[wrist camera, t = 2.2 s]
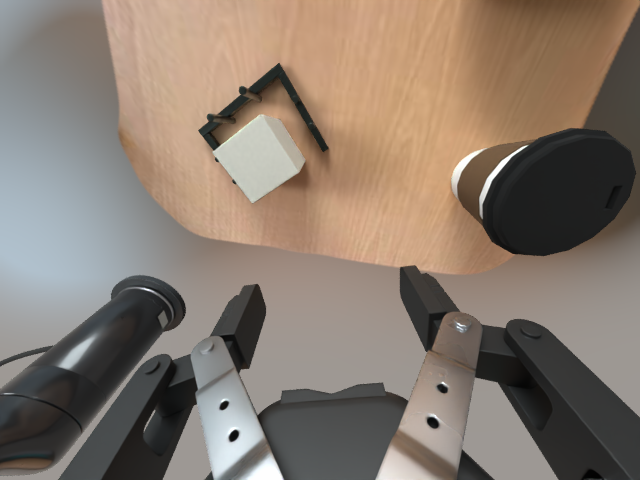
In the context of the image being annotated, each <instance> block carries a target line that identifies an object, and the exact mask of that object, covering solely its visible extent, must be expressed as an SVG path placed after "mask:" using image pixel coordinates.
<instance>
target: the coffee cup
mask: <svg viewBox="0 0 640 480" xmlns="http://www.w3.org/2000/svg"><path fill="white" fill-rule="evenodd" d="M635 175H636V171H635V167H634V163H633V159H632V155H631V151H630V150H629V149H628V148H626V147H625V146H624V145H622V144H621V143H620V142H618V141H617V140H616V139H615V138H613V137H612V136H611V135H609V134H608V133H607V132H605V131H598V130H588V129H578V128H570V129H566V130H563V131H560V132H556V133H553V134H550V135H547V136H543V137H540V138H538V139H535V140H529V141H522V142H515V143H508V144H501V145H497V146H494V147H491V148H485V149H482V150H478V151H475V152H472V153H471V154H470V155H468V156H467V157H465V158H464V159H463V160H461V161H460V163H459V164H458V165H457V167H456V168H455V169H454V172H453V175H452V178H451V185H452V191H453V193H454V195H455V196H456V198H457V199H458V200H459V201H460V202H461V204H462V206H463V207H464V208H465V209H466V210H467V211H468V212H469V213H470V214H471V215H472V216H473V217H474V218H475V219H476V220H477V221H478V222H479V223H480V224H481V225H483V227H484V229H485V231H486V233H487V234H488V236H489V238H490V239H491V241H492V242H493V243H495V244H496V245H498V246H500V247H502V248H503V249H505V250H507V251H509V252H511V253H512V254H523V255H534V256H535V255H537V256H546V255H550V254H554V253H558V252H562V251H567V250H570V249H572V248H573V247H576V246H577V245H579V244H581V243H583V242H585V241H587V240H589V239H591V238H592V237H594V236H595V235H596V234H597V233H599V232H600V231H601V230H602V229H603V228H604V227H606V226H607V225H608V224H609V223H610V222H611V221H612V220H614V219H615V217H616V216H617V214H618V213H619V211H620V210H621V208H622V207H623V205H624V204H625V203H626V201H627V200H628V198H629V196H630V193H631V189H632V186H633V182H634V178H635Z"/></svg>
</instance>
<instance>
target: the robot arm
mask: <svg viewBox="0 0 640 480" xmlns="http://www.w3.org/2000/svg"><path fill="white" fill-rule="evenodd" d="M400 294H401V299H402V301H403V304H404V306H405V308H406V310H407V312H408V314H409V316H410V318H411V321H412V323H413V325H414V327H415V329H416V331H417V333H418V336H419V338H420V340H421V342H422V344H423V346H424V348H425V351H426V352H427V355H426V357H425V359H424V362H423V365H422V367H421V370H420V372H419V375H418V378H417V380H416V383H415V386H414V388H413V391H412V393H411V396H410V399H409V401H408V400H406V399H404V398H403V397H400V396H398V395H396V394H393V393H390V392H386V391H385V389H384V385H383V383H372V384H360V385H356V386H353V387H350V388H347V389H344V390H342V391H339V392H336V393H332V394H329V393H325V392H320V391H315V390H310V389H297V390H285V391H282V396H281V400H279V401H277V402H275V403H273V404H271V405H270V406H268V407H267V408H265V409H264V410H263V411H262V412H261V413H260V414H259V415H257V413H256V411H255V408H254V406H253V404H252V402H251V399H250V397H249V395H248V393H247V390H246V388H245V386H244V384H243V381H242V379H241V377H240V375H239V372H240V370H241V369H249V367H250V364H251V361H252V358H253V354H254V351H255V348H256V345H257V342H258V339H259V335H260V332H261V329H262V326H263V322H264V319H265V316H266V306H265V302H264V299H263V296H262V293H261V290H260V287H259V285H258V284H254V285H246V286H244V287H243V288H242V291H241V292H240V294H239V295H236V296H235V297H234V298H233V299H232V300H230V301H229V303H228V305H227V306H226V308H225V311H224V312H223V313H222V317H220V319H219V321H218V323H217V324H216V326H215V328H214V330H213V332H212V334H211V335H210V337H208V338H206V339H204V340H202V341H201V342H200V343H198V344H197V345H196V346H195V348H194V349H193V351H192V353H191V354H189V355H187V356H183V357H181V358H178V359H175V360H172V359H171V357H170V356H169V355H167V354H161V355H157V356H155V357H153V358H151V359H149V360H148V361H146V362H145V363H144V364H143V365H141V366H140V368H139V369H138V370H137V371H136V372H135V374H134V375H133V377H132V378H131V379H130V381H129V382H128V383H127V385H126V387H125V388H124V389H123V390H122V392H121V393H120V395H119V396H118V397H117V399H116V400H115V402H114V403H113V404H112V406H111V407H110V409H109V410H108V411H107V413H106V414H105V415H104V417H103V418H102V420H101V421H100V422H99V424H98V425H97V427H96V428H95V429H94V431H93V432H92V434H91V435H90V437H89V438H88V439H87V440H86V442H85V443H84V445H83V446H82V447H81V449H80V450H79V452H78V453H77V454H76V456H75V457H74V458H73V460H72V461H71V463H70V464H69V466H68V467H67V468H66V470H65V471H64V472H63V474H62V475H61V476H60V478H59V479H58V480H163V477H164V475H165V472H166V470H167V468H168V465H169V463H170V460H171V458H172V456H173V453H174V451H175V449H176V446H177V444H178V441H179V439H180V436H181V434H182V432H183V429H184V427H185V425H186V422H187V420H188V418H189V415H190V413H191V410H192V408H193V406H194V405H196V404H197V405H198V410H199V414H200V419H201V423H202V428H203V433H204V437H205V442H206V446H207V451H208V455H209V459H210V465H211V469H212V471H211V473H210V474H209V475H208V476H207V477H206V479H205V480H494V479H493V478H492V477H491V476H490V475H489V474H488V473H487V472H486V471H485V470H484V469H482V468H481V467H480V466H479V465H478V464H477V463H476V462H475V461H474V460H473V459H472V458H471V457H470V456H469V455H468V454H466V453H465V452H464V451H463V450H462V446H463V440H464V434H465V429H466V423H467V417H468V412H469V406H470V401H471V395H472V390H473V384H474V378H475V377H476V378H481V379H485V380H489V381H494V382H498V384H499V385H500V387H501V388H502V390H503V392H504V393H505V395H506V396H507V398H508V400H509V401H510V403H511V404H512V406H513V407H514V409H515V411H516V412H517V414H518V415H519V417H520V419H521V420H522V422H523V423H524V425H525V427H526V428H527V430H528V432H529V433H530V435H531V436H532V438H533V440H534V441H535V442H536V444H537V446H538V448H539V449H540V450H541V452H542V454H543V455H544V457H545V459H546V460H547V462H548V463H549V465H550V467H551V468H552V470H553V471H554V473H555V474H556V476H557V478H558V479H559V480H640V417H639V416H638V415H637V414H635V413H634V412H633V411H632V410H631V409H630V408H629V407H628V406H627V405H626V404H625V403H624V402H623V401H622V400H621V399H620V398H619V397H618V396H617V395H616V394H615V393H614V392H613V391H612V390H610V388H608V387H607V386H606V385H605V384H604V383H603V382H602V381H601V380H600V379H599V378H598V377H597V376H596V375H595V374H594V373H593V372H592V371H591V370H590V369H589V368H588V367H587V366H586V365H584V364H583V363H582V362H581V361H580V360H579V359H578V358H577V357H576V356H575V355H574V354H573V353H572V352H571V351H570V350H569V349H568V348H567V347H566V346H565V345H564V344H563V343H561V342H560V341H559V340H558V339H557V338H556V337H555V336H554V335H553V334H552V333H551V332H550V331H549V330H548V329H546V328H545V327H543V326H541V325H539V324H537V323H535V322H532V321H528V320H523V319H514V320H511V321H509V322H508V323H507V325H506V328H501V327H493V326H487V325H482V324H481V323H480V322H479V321H478V320H477V319H476V318H474V317H473V316H471V315H469V314H466V313H462V312H460V311H459V309H458V308H457V307H456V305H455V304H454V303H453V301H452V300H451V299H450V297H449V296H448V295H447V293H446V292H444V290H443V288H442V287H440V284H439V283H438V282H437V280H436V279H435V278H434V277H432V276H430V275H429V274H427V273H425V274H421V273H420V271H419V270H418V268H417V267H416V266H415V265H413V266H405V267H401V268H400ZM174 318H175V308H174V306H173V304H172V302H171V301H170V300H169V299H168V298H167V297H166V296H165V295H164V294H163V293H161V292H159V291H158V290H156V289H153V288H151V287H147V286H142V285H134V286H129V287H127V288H125V289H123V290H122V291H121V292H120V293H119V294H118V295H117V296H116V297H114V298H113V299H112V300H111V301H110V302H108V303H107V304H106V305H104V306H103V307H102V308H101V309H99V310H98V311H97V312H96V313H94V314H93V315H92V316H91V317H89V318H88V319H87V320H86V321H85V322H83V323H82V324H81V325H79V326H78V327H77V328H76V329H74V330H73V331H72V332H71V333H69V334H68V335H67V336H65V337H64V338H63V339H62V340H61V341H59V342H58V343H57V344H56V345H54V346H48V347H43V348H39V349H35V350H31V351H27V352H24V353H21V354H18V355H15V356H12V357H10V358H7V359H5V360H3V361H1V362H0V366H2V365H4V364H6V363H9V362H11V361H14V360H16V359H20V358H23V357H26V356H30V355H34V354H38V353H42V352H45V353H44V354H43V355H42V356H41V357H39V358H38V359H37V360H35V361H34V362H33V363H32V364H30V365H29V366H28V367H27V368H25V369H24V370H23V371H22V372H21V373H19V374H18V375H17V376H16V377H14V378H13V379H12V380H11V381H9V382H8V383H7V384H6V385H4V386H3V387H2V388H1V389H0V476H13V475H30V474H36V473H39V472H43V471H46V470H48V469H50V468H52V467H53V466H54V465H56V464H57V463H58V462H59V461H60V460H61V459H62V458H63V457H64V456H65V454H66V453H67V452H68V451H69V450H70V448H71V447H72V446H73V445H74V443H75V442H76V441H77V440H78V438H79V437H80V436H81V434H82V433H83V432H84V430H85V429H86V428H87V427H88V425H89V424H90V423H91V422H92V421H93V419H94V418H95V417H96V416H97V414H98V413H99V412H100V411H101V409H102V408H103V407H104V405H105V404H106V403H107V401H108V400H109V399H110V398H111V397H112V395H113V394H114V393H115V392H116V390H117V389H118V388H119V387H120V385H121V384H122V383H123V381H124V380H125V379H126V378H127V376H128V375H129V374H130V373H131V371H132V370H133V369H134V368H135V366H136V365H137V364H138V363H139V361H140V360H141V359H142V358H143V356H144V355H145V354H146V353H147V351H148V350H149V349H150V347H151V346H152V345H153V344H154V343H155V341H156V340H157V339H158V338H159V337H160V335H161V334H162V333H163V331H164V330H165V329H166V328H167V327H168V326H169V325H170V324H171V322H172V321H173V320H174ZM154 409H155V410H156V411H155V413H154V415H153V417H152V419H151V420H150V422H149V424H148V426H147V428H146V430H145V432H144V428H145V425H146V423H147V421H148V420H149V418H150V416H151V414H152V412H153V411H154ZM143 432H144V433H143Z"/></svg>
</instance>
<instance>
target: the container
mask: <svg viewBox="0 0 640 480" xmlns="http://www.w3.org/2000/svg"><path fill="white" fill-rule="evenodd" d="M212 153H213V154H214V155H215V157H216V158H217V159H218V160H219V162H220V163H221V164H222V166H223V167H224V168H225V169H226V171H227V172H228V173H229V174H230V176H231V177H232V178H233V180H234V181H235V182H236V183H237V185H238V186H239V187H240V188H241V190H242V191H243V192H244V194H245V195H246V196H247V197H248V199H249V200H250V201H251V202H252V204H253V203H254V202H256V201H257V200H259V199H260V198H262V197H263V196H265V195H266V194H268V193H269V192H271V191H272V190H274V189H275V188H277V187H278V186H280V185H281V184H283V183H284V182H286V181H287V180H289V179H290V178H292V177H293V176H295V175H296V174H298V173H299V172H300V170H301V168H302V166H303V165H304V163H305V161H306V160H305V158H304V156H303V155H302V153H301V152H300V150H299V149H298V147H297V145H296V144H295V142H294V141H293V139H292V137H291V136H290V134H289V133H288V131H287V130H286V128H285V126H284V125H283V123H282V122H281V120H280V119H277V118H274V117H270V116H266V115H263V114H260V115H259V116H258V117H256V118H255V119H254V120H253V121H251V122H250V123H249V124H247V125H246V126H245V127H244V128H242V129H241V130H240V131H239V132H237V133H236V134H235V135H234V136H232V137H231V138H230V139H228V140H227V141H226V142H225V143H223V144H222V145H221V146H220V147H218V148H217V149H216V150H214V151H213V152H212Z"/></svg>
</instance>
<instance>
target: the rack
mask: <svg viewBox="0 0 640 480" xmlns="http://www.w3.org/2000/svg"><path fill="white" fill-rule="evenodd" d="M278 78H279V79H280V80H281V82H282V84H283V86H284V87H285V89H286V91H287V92H288V94H289V96H290V97H291V99H292V101H293V102H294V104H295V106H296V108H297V109H298V111H299V113H300V114H301V116H302V118H303V119H304V121H305V123H306V124H307V126H308V128H309V130H310V131H311V133H312V135H313V136H314V138H315V140H316V141H317V143H318V145H319V146H320V148H321V150H322V151H323V152H324V151H326V150H327V149H328V146H327V144H326V143H325V141H324V139H323V138H322V136H321V134H320V132H319V131H318V129H317V127H316V125H315V124H314V122H313V120H312V118H311V117H310V115H309V113H308V112H307V110H306V108H305V106H304V105H303V103H302V101H301V99H300V98H299V96H298V94H297V93H296V91H295V89H294V87H293V86H292V84H291V82H290V80H289V79H288V77H287V75H286V73H285V72H284V70H283V68H282V67H281V65H280V63H278V64H277V65H276V66H275V67H273V68H272V69H271V70H270V71H269V72H267V73H266V74H265V75H264V76H263V77H261V78H260V79H259V80H258V81H257V82H256V83H254V84H253V85H252V86H251V87H250V88H246V87H244V86H241V87H240V88H239V92H240V94H241V95H240V96H239V97H238V98H236V99H235V100H234V101H233V102H232V103H230V104H229V105H228V106H227V107H226V108H224V109H223V110H222V111H221V112H220V113H219V114H217V115H216V114H208V115H207V119H208V121H209V122H208V123H207V124H205V125H204V126H203V127H202V128H201V129H199V130H198V131H199V132H200V134H201V135H202V136H203V138H204V139H205V140H206V141H207V143H208V144H209V145H210V147H211V148H212V149H213V150H216V149H217V148H218V147H220V146H221V145H220V144H219V142H218V141H217V140H216V138H215V137H214V136H213V134H212V132H213V131H214V130H215V129H217V128H218V127H219V126H220V125H222V124H223V123H231V124H234V123H235V122H236V119H235V118H234V117H231V116H233V115H234V114H235V113H236V112H237V111H239V110H240V109H241V108H242V107H244V106H245V105H246V104H247V103H248V102H250V101H251V100H255V101H257V102H262V97H261V96H260V95H258V94H259V93H261V92H262V91H263V90H264V89H266V88H267V87H268V86H269V85H270V84H272V83H273V82H274V81H275V80H277V79H278ZM215 160H216V162H219V160H218V159H217V158H216V157H215ZM233 183H234V184H237V183H236V182H235V181H234V180H233Z"/></svg>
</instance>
